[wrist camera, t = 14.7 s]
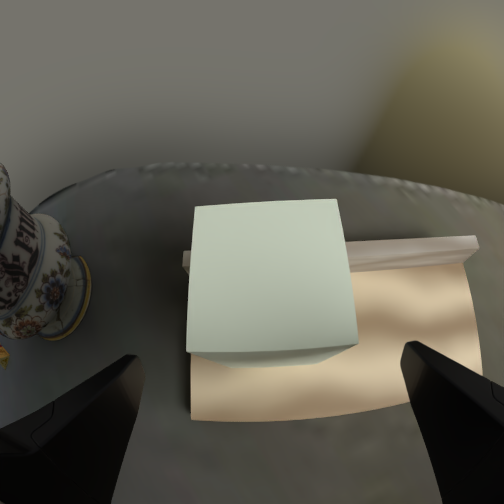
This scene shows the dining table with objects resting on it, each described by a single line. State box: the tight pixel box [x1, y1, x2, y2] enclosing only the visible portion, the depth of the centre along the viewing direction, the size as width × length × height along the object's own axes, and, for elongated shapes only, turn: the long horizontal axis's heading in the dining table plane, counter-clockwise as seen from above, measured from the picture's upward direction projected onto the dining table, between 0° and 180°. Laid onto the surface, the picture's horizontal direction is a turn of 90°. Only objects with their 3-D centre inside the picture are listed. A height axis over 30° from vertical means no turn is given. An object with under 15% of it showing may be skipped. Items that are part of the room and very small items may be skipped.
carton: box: [186, 199, 359, 368], centre depth 16 cm, size 6×6×11 cm
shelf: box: [182, 236, 483, 422], centre depth 19 cm, size 12×24×4 cm, turn 91°
